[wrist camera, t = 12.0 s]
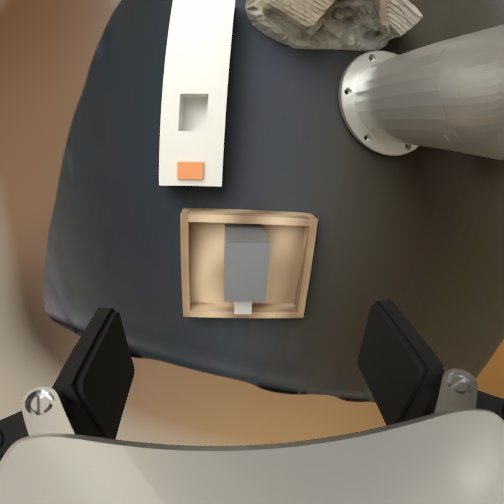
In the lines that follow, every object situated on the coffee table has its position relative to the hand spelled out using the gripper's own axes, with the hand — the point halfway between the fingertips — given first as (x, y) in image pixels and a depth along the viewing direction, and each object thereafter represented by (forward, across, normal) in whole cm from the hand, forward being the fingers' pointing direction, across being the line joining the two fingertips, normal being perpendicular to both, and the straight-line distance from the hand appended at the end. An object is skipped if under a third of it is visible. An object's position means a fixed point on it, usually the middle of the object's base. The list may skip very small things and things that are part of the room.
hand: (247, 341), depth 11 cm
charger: (+20, 0, +11) cm, 23 cm away
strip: (+24, +4, -12) cm, 27 cm away
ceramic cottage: (+24, -10, -23) cm, 35 cm away
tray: (+24, -1, +7) cm, 25 cm away
